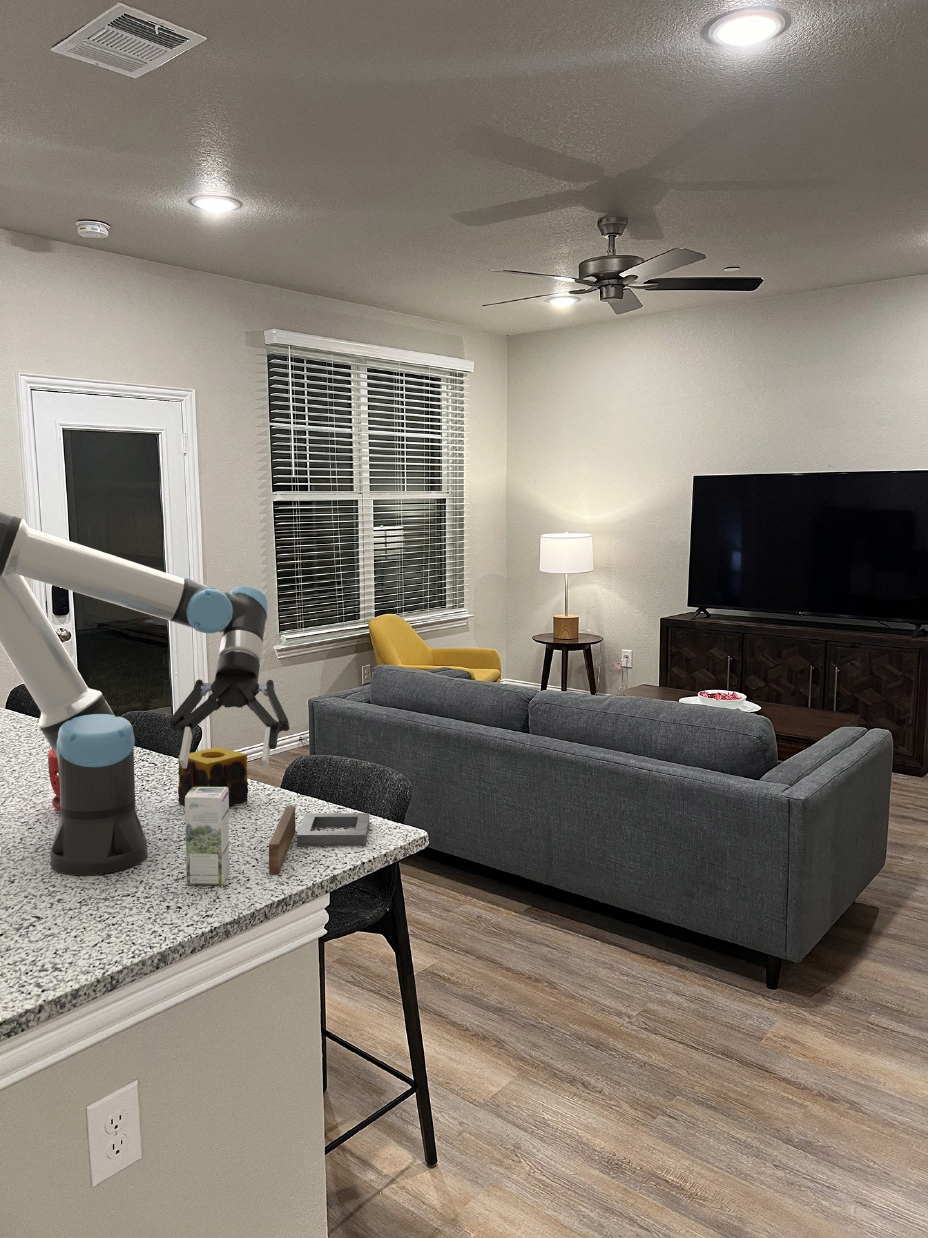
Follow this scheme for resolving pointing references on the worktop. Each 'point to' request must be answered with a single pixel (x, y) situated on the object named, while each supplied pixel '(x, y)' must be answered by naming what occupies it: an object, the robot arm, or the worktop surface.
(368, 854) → the worktop surface
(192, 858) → the syrup box
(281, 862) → the rail
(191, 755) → the candle
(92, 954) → the worktop surface
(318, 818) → the block
